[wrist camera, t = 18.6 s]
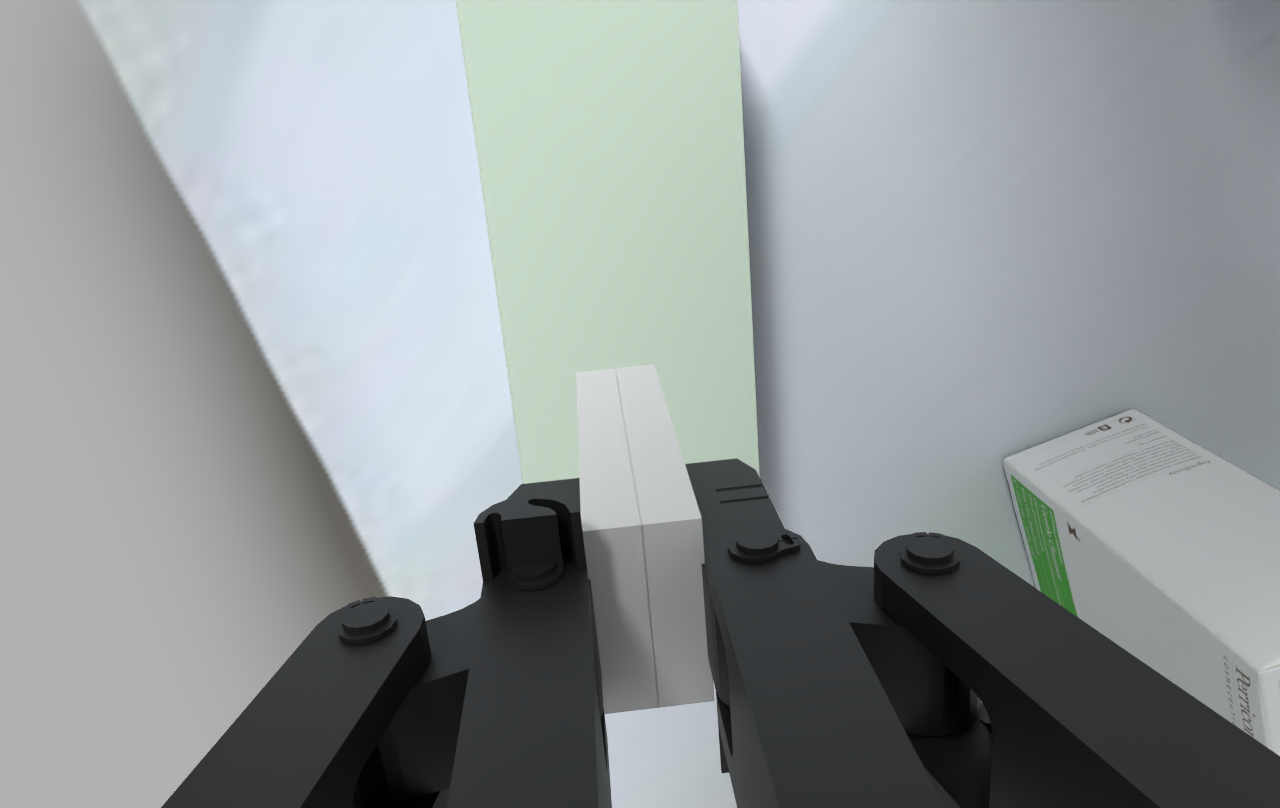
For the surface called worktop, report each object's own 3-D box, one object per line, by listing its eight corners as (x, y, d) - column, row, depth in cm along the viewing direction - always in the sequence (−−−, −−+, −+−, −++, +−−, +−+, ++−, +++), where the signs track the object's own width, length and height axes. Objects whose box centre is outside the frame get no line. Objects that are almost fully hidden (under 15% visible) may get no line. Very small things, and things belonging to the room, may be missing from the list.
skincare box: (997, 453, 40) (1248, 663, 25) (1142, 399, 40) (1482, 580, 25) (1038, 608, 43) (1286, 879, 28) (1174, 558, 42) (1497, 805, 28)
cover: (454, -17, 28) (453, -21, 27) (729, -39, 29) (735, -43, 28) (535, 560, 35) (535, 570, 34) (757, 530, 35) (762, 539, 35)
